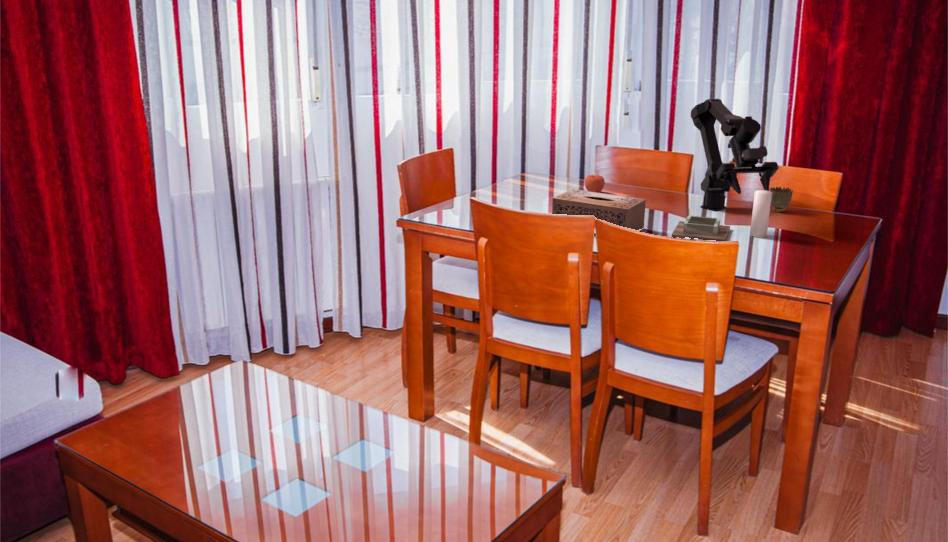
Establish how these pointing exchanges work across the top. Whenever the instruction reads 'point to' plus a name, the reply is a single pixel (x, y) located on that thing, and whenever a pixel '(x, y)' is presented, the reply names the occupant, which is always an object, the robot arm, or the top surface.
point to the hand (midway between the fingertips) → (753, 193)
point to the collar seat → (701, 229)
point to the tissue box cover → (602, 207)
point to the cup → (780, 198)
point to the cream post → (760, 213)
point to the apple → (594, 183)
